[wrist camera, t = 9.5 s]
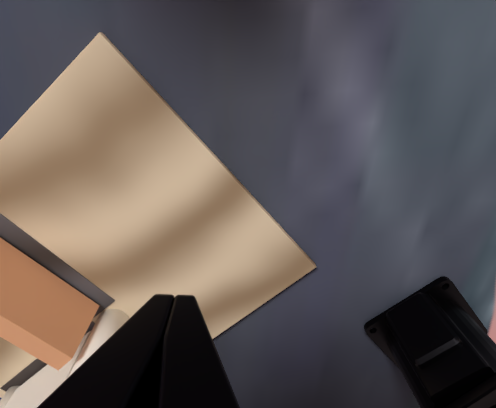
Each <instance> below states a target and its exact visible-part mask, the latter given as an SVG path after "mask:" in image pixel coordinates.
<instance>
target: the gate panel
mask: <svg viewBox="0 0 496 408" xmlns="http://www.w3.org/2000/svg"><path fill="white" fill-rule="evenodd" d="M98 308H99V305H98V304H97V303H95V302H94V301H92V300H91V299H89V298H88V297H86V296H85V295H83V294H82V293H80V292H79V291H78V290H76V289H75V288H73V287H72V286H70V285H69V284H67V283H66V282H64V281H63V280H62V279H60V278H59V277H57V276H56V275H54V274H53V273H51V272H50V271H48V270H47V269H45V268H44V267H43V266H41V265H40V264H38V263H37V262H35V261H34V260H32V259H31V258H29V257H28V256H27V255H25V254H24V253H22V252H21V251H19V250H18V249H16V248H15V247H13V246H12V245H10V244H9V243H8V242H6V241H5V240H3V239H2V238H0V337H1V338H3V339H5V340H7V341H8V342H10V343H12V344H13V345H15V346H17V347H19V348H20V349H22V350H24V351H25V352H27V353H29V354H31V355H32V356H34V357H36V358H38V359H39V360H41V361H43V362H44V363H46V364H48V365H50V366H51V367H53V368H55V369H57V370H59V369H61V368H62V367H63V366H64V365H65V364H66V363H68V362H69V361H70V360H71V359H72V358H73V356H74V354H75V352H76V350H77V348H78V346H79V345H80V343H81V341H82V339H83V337H84V335H85V333H86V331H87V329H88V327H89V325H90V323H91V321H92V319H93V317H94V316H95V314H96V312H97V310H98Z"/></svg>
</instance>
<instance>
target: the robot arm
mask: <svg viewBox="0 0 496 408" xmlns="http://www.w3.org/2000/svg"><path fill="white" fill-rule="evenodd" d="M443 284H444V285H443ZM442 285H443V286H442ZM371 328H373V329H371ZM364 329H365V331H366V333H367V335H368V336H369V337H370V338H371V339H372V340H373V341H374V342H375V343H376V344H377V345H378V346H379V347H380V349H381V350H382V351H383V352H384V353H385V354H386V355H387V356H388V357H389V358H390V359H391V360H392V361H393V362H394V363H395V364H396V365H397V367H398V368H399V369H400V370H401V372H402V374H403V376H404V377H405V379H406V381H407V383H408V385H409V387H410V389H411V390H412V392H413V394H414V396H415V398H416V400H417V402H418V403H419V405H420V407H421V408H496V344H495V343H494V342H493V341H492V339H491V338H490V337H489V336H488V335H487V329H486V328H485V327H484V325H483V324H482V323H481V321H480V320H479V318H478V317H477V316H476V314H475V313H474V311H473V310H472V309H471V307H470V306H469V305H468V303H467V302H466V300H465V299H464V298H463V296H462V295H461V294H460V292H459V291H458V289H457V288H456V287H455V285H454V284H453V282H452V281H451V280H450V279H449V278H447V277H445V276H444V277H440V278H438V279H436V280H435V281H433V282H431V283H430V284H428V285H426V286H425V287H423V288H422V289H420V290H418V291H417V292H415V293H414V294H412V295H410V296H409V297H407V298H406V299H404V300H402V301H401V302H399V303H397V304H396V305H394V306H393V307H391V308H389V309H388V310H386V311H385V312H383V313H381V314H380V315H378V316H376V317H375V318H373V319H372V320H370V321H368V322H367V323H366V324H365V325H364ZM37 408H240V407H239V404H238V402H237V399H236V397H235V394H234V392H233V389H232V387H231V385H230V382H229V380H228V377H227V375H226V372H225V370H224V367H223V365H222V362H221V360H220V357H219V355H218V352H217V350H216V347H215V345H214V342H213V340H212V337H211V335H210V332H209V330H208V327H207V325H206V322H205V320H204V317H203V315H202V312H201V310H200V307H199V305H198V302H197V300H196V298H195V296H193V295H176V296H175V297H174V295H172V294H155V295H153V296H152V297H151V298H150V299H149V300H148V301H147V302H146V303H145V304H144V305H143V306H142V307H141V308H140V309H139V310H138V311H137V312H136V313H135V314H134V315H133V316H131V317H130V318H129V319H128V320H127V321H126V322H125V323H124V324H123V325H122V326H121V327H120V328H119V329H118V330H117V331H116V332H115V333H114V334H113V335H112V336H111V337H110V338H109V339H108V340H107V341H106V342H104V343H103V344H102V345H101V346H100V347H99V348H98V349H97V350H96V351H95V352H94V353H93V354H92V355H91V356H90V357H89V358H88V359H87V360H86V361H85V362H84V363H83V364H82V365H81V366H80V367H79V368H77V369H76V370H75V371H74V372H73V373H72V374H71V375H70V376H69V377H68V378H67V379H66V380H65V381H64V382H63V383H62V384H61V385H60V386H59V387H58V388H57V389H56V390H55V391H54V392H53V393H51V394H50V395H49V396H48V397H47V398H46V399H45V400H44V401H43V402H42V403H41V404H40V405H39V406H38V407H37Z"/></svg>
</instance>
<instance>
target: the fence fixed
mask: <svg viewBox="0 0 496 408" xmlns="http://www.w3.org/2000/svg"><path fill="white" fill-rule="evenodd" d="M128 319H129V316H128V315H127V314H126V313H125V312H123V311H122V310H119V309H113V308H112V309H106V310H104V311H102V312H101V313H100V315H99V317H98V319H97V321H96V323H95V325H94V327H93V329H92V331H89V332H88V333H87V334H85V335H84V337H83V339H82V341H81V343H80V345H79V346H78V348H77V350H76V352H75V354H74V356H73V358H72V359H71V360H70V361H69V362H68V363H66V364H65V365H64V366H63V367H62V368H61V369H59V370H57V369H55V368H53V367H51V366H50V365H48V364H47V365H46V366H45V367H44V368H42V369H41V370H40V371H38V372H37V373H36V374H35V375H33V376H32V377H31V378H30V379H28V380H27V381H26V382H25V383H23V384H22V385H21V386H12V387H10V388H9V389H8V390H7V391H6V393H5V394H4V396H3V397H2V399H1V400H0V408H37V407H38V406H39V405H40V404H41V403H42V402H43V401H44V400H45V399H46V398H47V397H48V396H49V395H50V394H51V393H53V392H54V391H55V390H56V389H57V388H58V387H59V386H60V385H61V384H62V383H63V382H64V381H65V380H66V379H67V378H68V377H69V376H70V375H71V374H72V373H73V372H74V371H75V370H76V369H77V368H79V367H80V366H81V365H82V364H83V363H84V362H85V361H86V360H87V359H88V358H89V357H90V356H91V355H92V354H93V353H94V352H95V351H96V350H97V349H98V348H99V347H100V346H101V345H102V344H103V343H104V342H106V341H107V340H108V339H109V338H110V337H111V336H112V335H113V334H114V333H115V332H116V331H117V330H118V329H119V328H120V327H121V326H122V325H123V324H124V323H125V322H126V321H127V320H128Z"/></svg>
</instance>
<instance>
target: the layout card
mask: <svg viewBox="0 0 496 408" xmlns="http://www.w3.org/2000/svg"><path fill="white" fill-rule="evenodd" d="M0 238H2V239H3V240H5V241H6V242H8V243H9V244H10V245H12V246H13V247H15V248H16V249H18V250H19V251H21V252H22V253H24V254H25V255H27V256H28V257H29V258H31V259H32V260H34V261H35V262H37V263H38V264H40V265H41V266H43V267H44V268H45V269H47V270H48V271H50V272H51V273H53V274H54V275H56V276H57V277H59V278H60V279H62V280H63V281H64V282H66V283H67V284H69V285H70V286H72V287H73V288H75V289H76V290H78V291H79V292H80V293H82V294H83V295H85V296H86V297H88V298H89V299H91V300H92V301H94V302H95V303H97V304H98V305H99V308H98V310H97V312H96V314H95V316H94V317H93V319H92V321H91V323H90V325H89V327H88V329H87V331H86V333H85V334H87V333H88V332H89V331H92V329H93V327H94V325H95V323H96V321H97V319H98V317H99V315H100V313H101V312H102V311H104V310H106V309H112V308H113V309H119V310H122V311H123V312H125V313H126V314H127V315H128V316H129V318H130V317H131V316H133V315H134V314H135V313H136V312H137V311H138V310H139V309H140V308H141V307H142V306H143V305H144V304H145V303H146V302H147V301H148V300H149V299H150V298H151V297H152V296H153V295H155V294H172V295H174V297H175V296H176V295H193V296H195V298H196V300H197V302H198V305H199V307H200V310H201V312H202V315H203V317H204V320H205V322H206V325H207V327H208V330H209V332H210V335H211V337H212V339H213V338H215V337H216V336H218V335H219V334H221V333H222V332H223V331H225V330H226V329H228V328H229V327H231V326H232V325H234V324H235V323H236V322H238V321H239V320H241V319H242V318H244V317H245V316H247V315H248V314H249V313H251V312H252V311H254V310H255V309H257V308H258V307H260V306H261V305H262V304H264V303H265V302H267V301H268V300H270V299H271V298H273V297H274V296H275V295H277V294H278V293H280V292H281V291H283V290H284V289H286V288H287V287H288V286H290V285H291V284H293V283H294V282H296V281H297V280H299V279H300V278H301V277H303V276H304V275H306V274H307V273H309V272H310V271H312V270H313V269H314V268H316V265H315V263H314V262H313V261H312V260H311V259H310V257H309V256H308V255H307V254H306V253H305V252H304V251H303V250H302V249H301V248H300V247H299V246H298V244H297V243H296V242H295V241H294V240H293V239H292V238H291V237H290V236H289V235H288V234H287V233H286V231H285V230H284V229H283V228H282V227H281V226H280V225H279V224H278V223H277V222H276V221H275V219H274V218H273V217H272V216H271V215H270V214H269V213H268V212H267V211H266V210H265V209H264V208H263V206H262V205H261V204H260V203H259V202H258V201H257V200H256V199H255V198H254V197H253V196H252V195H251V193H250V192H249V191H248V190H247V189H246V188H245V187H244V186H243V185H242V184H241V183H240V181H239V180H238V179H237V178H236V177H235V176H234V175H233V174H232V173H231V172H230V171H229V170H228V168H227V167H226V166H225V165H224V164H223V163H222V162H221V161H220V160H219V159H218V158H217V157H216V155H215V154H214V153H213V152H212V151H211V150H210V149H209V148H208V147H207V146H206V145H205V143H204V142H203V141H202V140H201V139H200V138H199V137H198V136H197V135H196V134H195V133H194V132H193V130H192V129H191V128H190V127H189V126H188V125H187V124H186V123H185V122H184V121H183V120H182V119H181V117H180V116H179V115H178V114H177V113H176V112H175V111H174V110H173V109H172V108H171V107H170V105H169V104H168V103H167V102H166V101H165V100H164V99H163V98H162V97H161V96H160V95H159V94H158V92H157V91H156V90H155V89H154V88H153V87H152V86H151V85H150V84H149V83H148V82H147V81H146V79H145V78H144V77H143V76H142V75H141V74H140V73H139V72H138V71H137V70H136V69H135V67H134V66H133V65H132V64H131V63H130V62H129V61H128V60H127V59H126V58H125V57H124V56H123V54H122V53H121V52H120V51H119V50H118V49H117V48H116V47H115V46H114V45H113V44H112V43H111V41H110V40H109V39H108V38H107V37H106V36H105V35H104V34H103V33H100V32H99V33H98V35H97V36H96V37H95V38H94V39H93V40H92V41H91V42H90V43H89V44H88V45H87V47H86V48H85V49H84V50H83V51H82V52H81V53H80V54H79V55H78V56H77V57H76V58H75V60H74V61H73V62H72V63H71V64H70V65H69V66H68V67H67V68H66V69H65V70H64V71H63V73H62V74H61V75H60V76H59V77H58V78H57V79H56V80H55V81H54V82H53V83H52V85H51V86H50V87H49V88H48V89H47V90H46V91H45V92H44V93H43V94H42V95H41V96H40V98H39V99H38V100H37V101H36V102H35V103H34V104H33V105H32V106H31V107H30V108H29V109H28V111H27V112H26V113H25V114H24V115H23V116H22V117H21V118H20V119H19V120H18V121H17V123H16V124H15V125H14V126H13V127H12V128H11V129H10V130H9V131H8V132H7V133H6V134H5V136H4V137H3V138H2V139H1V140H0ZM46 365H47V364H46V363H44V362H43V361H41V360H39V359H38V358H36V357H34V356H32V355H31V354H29V353H27V352H25V351H24V350H22V349H20V348H19V347H17V346H15V345H13V344H12V343H10V342H8V341H7V340H5V339H3V338H1V337H0V397H1V398H2V397H3V396H4V394H5V393H6V391H7V390H8V389H9V388H10V387H12V386H21V385H22V384H23V383H25V382H26V381H27V380H28V379H30V378H31V377H32V376H33V375H35V374H36V373H37V372H38V371H40V370H41V369H42V368H44V367H45V366H46Z"/></svg>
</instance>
